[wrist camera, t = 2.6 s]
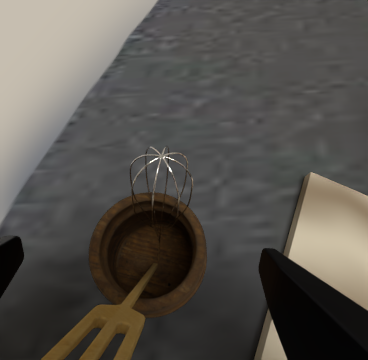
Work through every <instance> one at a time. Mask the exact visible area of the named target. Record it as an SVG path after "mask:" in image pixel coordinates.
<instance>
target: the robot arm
mask: <svg viewBox="0 0 368 360" xmlns="http://www.w3.org/2000/svg"><path fill="white" fill-rule="evenodd" d="M23 259H24V252H23V247H22V242H21V238H20V237H18V236H4V237H1V238H0V298H1V296H2V295H3V293H4V292H5V290H6V288H7V287H8V285H9V283H10V282H11V280H12V278H13V277H14V275H15V273H16V272H17V270H18V269H19V267H20V265H21V264H22V262H23ZM259 274H260V278H261V282H262V286H263V289H264V293H265V297H266V301H267V305H268V308H269V312H270V315H271V318H272V320H273V323H274V326H275V328H276V331H277V334H278V336H279V339H280V342H281V344H282V347H283V350H284V352H285V355H286V358H287V360H368V310H366V309H365V308H363V307H362V306H360V305H359V304H357V303H356V302H354V301H353V300H351V299H350V298H348V297H347V296H345V295H344V294H342V293H341V292H339V291H338V290H336V289H335V288H333V287H332V286H330V285H329V284H327V283H325V282H324V281H322V280H321V279H319V278H318V277H316V276H315V275H313V274H312V273H310V272H309V271H307V270H306V269H304V268H303V267H301V266H300V265H298V264H297V263H295V262H294V261H292V260H291V259H289V258H288V257H286V256H285V255H283V254H282V253H280V252H279V251H277V250H276V249H272V248H264V249H263V250H262V253H261V258H260V262H259Z"/></svg>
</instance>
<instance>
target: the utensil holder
mask: <svg viewBox="0 0 368 360" xmlns="http://www.w3.org/2000/svg"><path fill="white" fill-rule="evenodd" d="M166 147H167V148H168V154H165V155H163V154H164V151H165V149H166ZM166 147H165V148H164V150H163V152H162V155H161V154H160V153H159V152H158V151H157V150H156V149H155V148H153V147H148V148H147V150H146V153H145V155H142V156H140V157H137V158H136V159H135V160H134V161H133V162H132V163H131V165H130V182H131V196H129V197H127V198H125V199H123V200H121V201H119V202H118V203H116V204H115V205H114V206H112V207H111V208H110V209H109V210H108V211H107V212H106V213H105V214H104V215H103V217H102V218H101V219H100V221H99V222H98V224H97V226H96V228H95V230H94V232H93V235H92V238H91V242H90V247H89V265H90V270H91V273H92V276H93V279H94V281H95V283H96V285H97V287H98V288H99V290H100V291H101V292H102V294H103V295H104V296H105V297H106V298H107V299H108V300H109V301H110V302H111V303H113V304H114V305H97V306H95V307H94V308H93V309H92V310H91V311H90V312H89V313H88V314H87V315H86V316H85V317H84V318H83V319H82V320H81V321H80V322H79V323H78V324H77V325H76V326H75V327H74V328H73V329H72V330H71V331H69V332H68V333H67V334H66V335H65V336H64V337H63V338H62V339H61V340H60V341H59V342H58V343H57V344H56V345H55V346H54V347H53V348H52V349H51V350H50V351H49V352H48V353H47V354H46V355H45V356H44V357H43V358H42V359H41V360H64V359H65V358H66V357H67V356H68V354H69V353H70V352H71V351H72V350H73V349H74V348H75V347H76V346H77V345H78V344H79V343H80V342H81V341H82V340H83V338H84V337H85V336H86V335H87V334H88V333H89V332H90V331H91V330H92V329H93V328H101V329H102V330H101V331H100V332H99V334H98V335H97V336H96V338H95V339H94V340H93V342H92V343H91V344H90V345H89V347H88V348H87V349H86V351H85V352H84V353H83V355H82V356H81V357H80V359H79V360H99V358H100V357H101V355H102V354H103V352H104V351H105V349H106V348H107V346H108V345H109V343H110V342H111V340H112V339H113V337H114V336H115V334H118V333H121V334H125V335H126V336H125V338H124V340H123V342H122V344H121V346H120V348H119V350H118V352H117V354H116V355H115V357H114V359H113V360H130V359H131V357H132V354H133V352H134V349H135V347H136V344H137V342H138V339H139V337H140V334H141V332H142V329H143V327H144V323H145V318H154V317H160V316H164V315H167V314H170V313H172V312H174V311H176V310H177V309H179V308H180V307H182V306H183V305H184V304H186V303H187V302H188V301H189V300H190V299H191V298H192V296H193V295H194V294H195V292H196V291H197V289H198V288H199V286H200V284H201V282H202V279H203V276H204V273H205V269H206V262H207V252H206V240H205V236H204V232H203V229H202V226H201V224H200V222H199V220H198V218H197V217H196V215H195V214H194V213H193V212H192V210H191V209H190V208H189V207H188V206H189V203H190V200H191V195H192V189H193V179H192V176H191V174H190V172H189V171H188V160H187V158H186V157H185V155H183V154H181V153H178V152H173V153H169V147H168V146H166ZM149 148H152V149H154V150H155V151H156V152H157V153H158V154H159V155H153V154H148V155H147V151H148V149H149ZM170 154H180V155H182V156H184V157H185V159H186V161H187V168H186V167H185V166H184V165H182V164H181V163H179V162H178V161H176V160H174V159H171V158H169V155H170ZM166 155H168V157H165V156H166ZM144 156H145V166H144V167H143V168H142V169H141V170H140V171H139V173H138V174H137V176H136V177H135V179H134V181H133V183H132V180H131V166H132V164H133V163H134V162H135V161H136V160H137V159H139V158H141V157H144ZM146 156H158V158H156V159H154V160H152V161H151V162H149V163H148V164H147V163H146ZM159 158H160V161H159V164H158V168H157V172H156V176H155V181H154V187H153V192H150V191H149V186H148V180H147V166H148V165H149V164H150V163H152V162H153V161H155V160H157V159H159ZM164 158H167V159H168V163H167V162H166V160H165V159H164ZM162 159H163V160H164V161H165V163H166V164H167V179H168V168H169V170H170V172H171V174H172V176H173V179H174V182H175V185H176V189H177V194H178V199H176V198H174V197H172V196H169V195H166V187H167V179H166V187H165V194H162V193H154V190H155V184H156V179H157V174H158V170H159V166H160V163H161V160H162ZM169 159H170V160H173V161H175V162H177V163H178V164H180V165H181V166H183V167H184V168H185V169H186V177H187V172H188V173H189V175H190V177H191V180H192V187H191V194H190V199H189V202H188V205H187V206H186V205H185V204H184V203H183V202H181V201H180V200H179V199H180V197H181V195H182V192H183V190H184V187H185V183H186V177H185V182H184V186H183V190H182V192H181V194H180V196H179V191H178V187H177V183H176V180H175V177H174V175H173V173H172V171H171V169H170V167H169ZM144 168H146V180H147V186H148V191H149V192H148V193H140V194H135V195H134V192H133V185H134V182H135V180H136V178H137V177H138V175H139V174H140V173H141V171H142V170H143V169H144Z"/></svg>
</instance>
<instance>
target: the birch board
mask: <svg viewBox="0 0 368 360" xmlns="http://www.w3.org/2000/svg"><path fill="white" fill-rule="evenodd" d="M283 255H285V256H286V257H288V258H289V259H291V260H292V261H294V262H295V263H297V264H298V265H300V266H301V267H303V268H304V269H306V270H307V271H309V272H310V273H312V274H313V275H315V276H316V277H318V278H319V279H321V280H322V281H324V282H325V283H327V284H329V285H330V286H332V287H333V288H335V289H336V290H338V291H339V292H341V293H342V294H344V295H345V296H347V297H348V298H350V299H351V300H353V301H354V302H356V303H357V304H359V305H360V306H362V307H363V308H365V309H366V310H368V196H366V195H364V194H362V193H359V192H357V191H355V190H352V189H350V188H348V187H345V186H343V185H341V184H338V183H336V182H334V181H331V180H329V179H327V178H324V177H322V176H319V175H317V174H315V173H312V172H310V173H309V174H308V175H307V176H306V177H305V178H304V182H303V185H302V189H301V192H300V196H299V200H298V203H297V207H296V210H295V214H294V217H293V221H292V225H291V228H290V232H289V235H288V239H287V243H286V246H285V250H284V253H283ZM254 360H287V358H286V355H285V352H284V350H283V347H282V344H281V342H280V339H279V336H278V334H277V331H276V328H275V326H274V323H273V320H272V318H271V315H270V312H269V308H268V311H267V315H266V318H265V322H264V325H263V329H262V333H261V336H260V340H259V343H258V347H257V351H256V354H255V358H254Z"/></svg>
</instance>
